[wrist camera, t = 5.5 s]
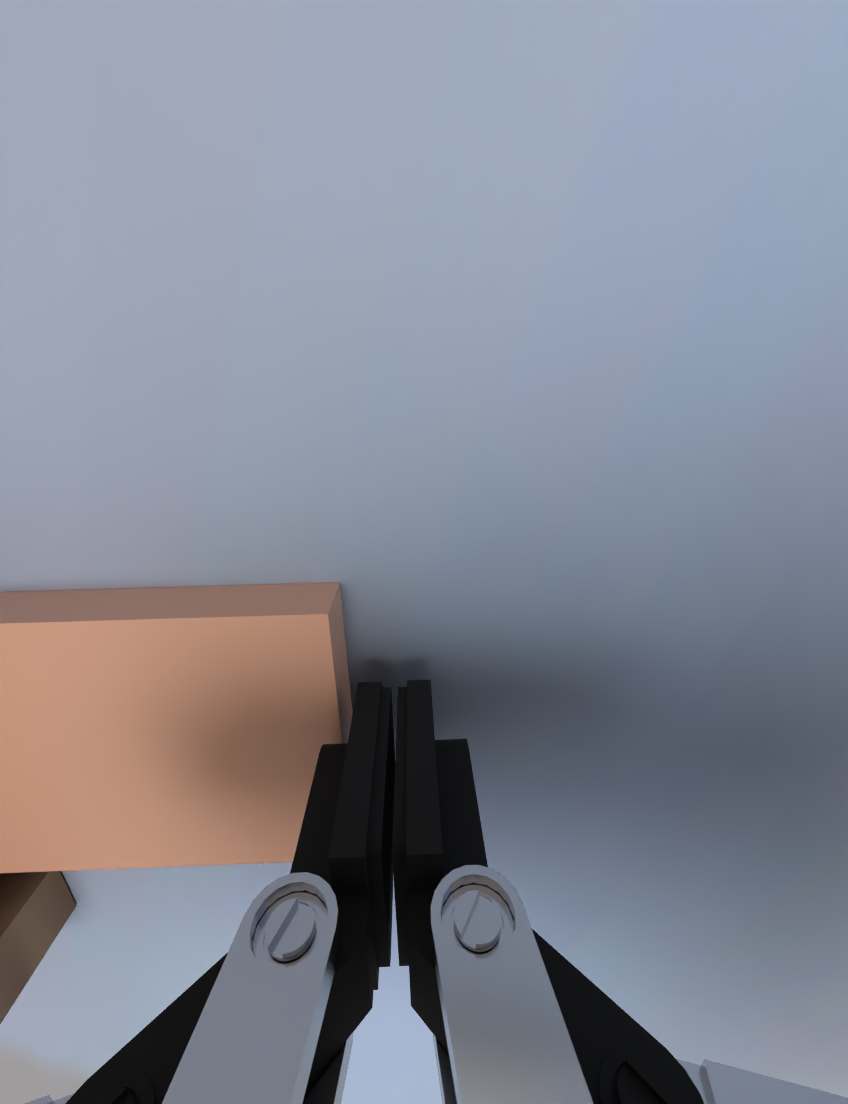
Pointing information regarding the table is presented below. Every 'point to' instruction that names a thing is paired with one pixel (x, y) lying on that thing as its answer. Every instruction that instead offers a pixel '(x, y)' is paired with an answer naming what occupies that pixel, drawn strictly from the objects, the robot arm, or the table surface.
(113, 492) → the table surface
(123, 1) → the table surface
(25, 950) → the wooden channel block
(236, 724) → the salmon pink flat block
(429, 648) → the table surface
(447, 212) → the table surface
